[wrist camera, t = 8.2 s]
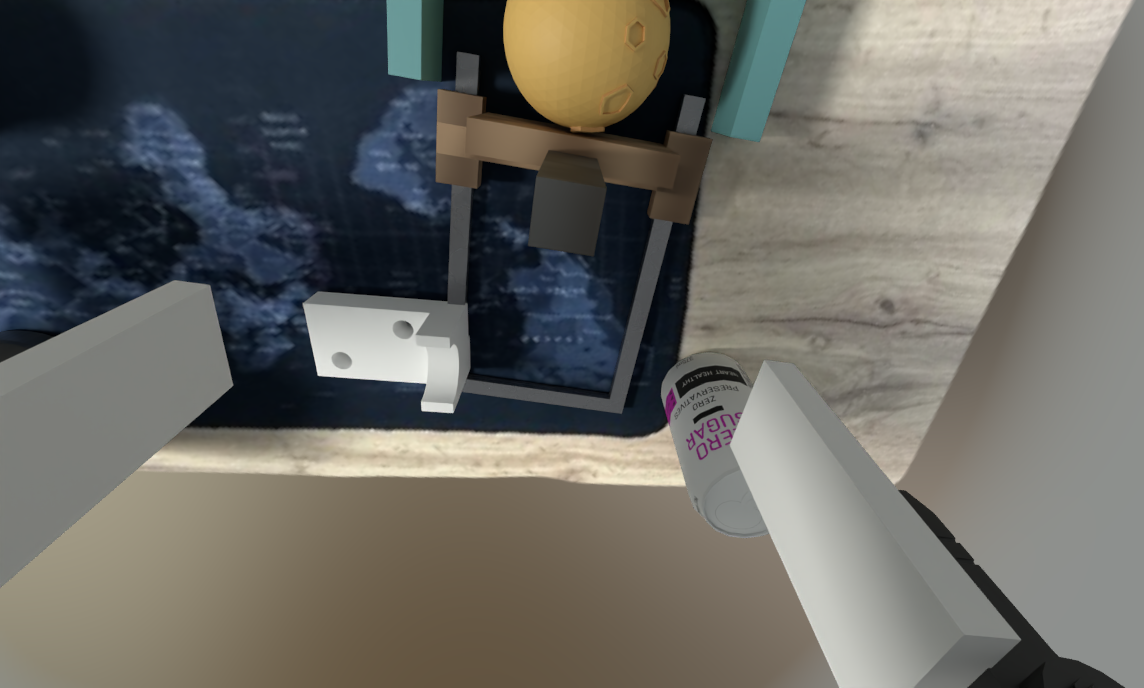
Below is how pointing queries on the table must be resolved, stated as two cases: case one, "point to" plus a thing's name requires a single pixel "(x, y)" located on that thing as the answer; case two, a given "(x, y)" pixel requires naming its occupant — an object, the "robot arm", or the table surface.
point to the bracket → (392, 342)
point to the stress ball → (586, 57)
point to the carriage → (567, 168)
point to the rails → (641, 301)
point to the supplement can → (712, 439)
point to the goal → (745, 86)
